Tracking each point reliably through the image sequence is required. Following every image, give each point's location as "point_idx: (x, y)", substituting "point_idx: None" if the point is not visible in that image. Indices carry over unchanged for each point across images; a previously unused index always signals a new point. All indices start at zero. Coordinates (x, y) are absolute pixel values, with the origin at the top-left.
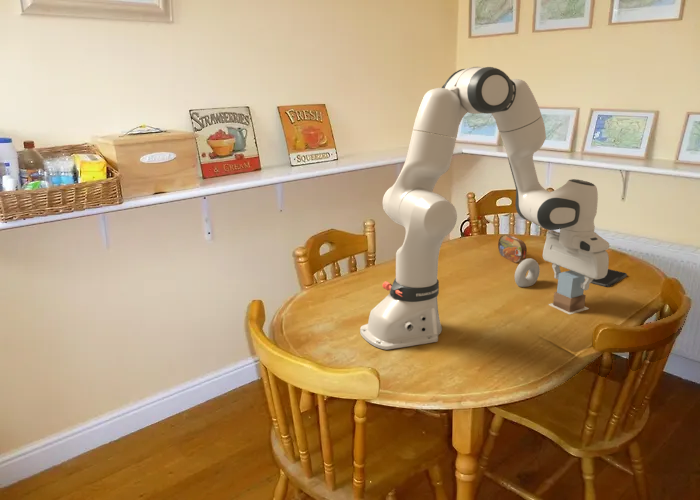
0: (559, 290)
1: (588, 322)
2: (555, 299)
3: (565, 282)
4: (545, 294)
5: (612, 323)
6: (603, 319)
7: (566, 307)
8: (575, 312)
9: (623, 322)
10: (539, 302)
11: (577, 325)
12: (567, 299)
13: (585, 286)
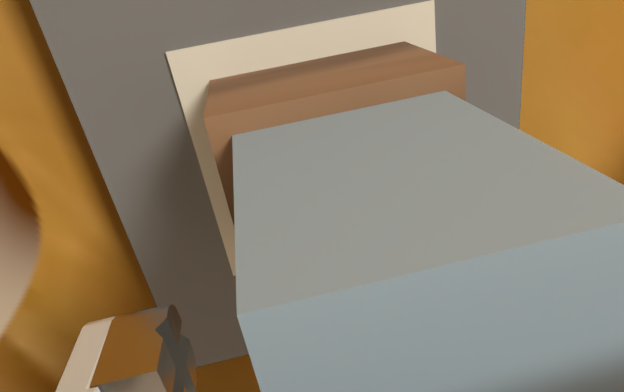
0: (427, 109)
1: (65, 156)
2: (405, 55)
3: (392, 189)
4: (614, 156)
5: (24, 301)
6: (102, 283)
7: (247, 79)
8: (191, 131)
9: (32, 366)
10: (542, 14)
11: (12, 25)
12: (250, 102)
13: (74, 377)
